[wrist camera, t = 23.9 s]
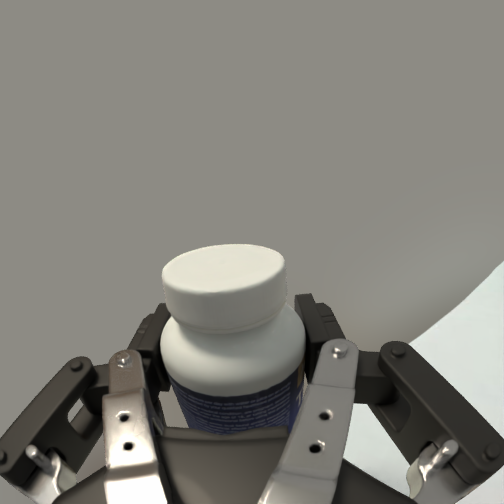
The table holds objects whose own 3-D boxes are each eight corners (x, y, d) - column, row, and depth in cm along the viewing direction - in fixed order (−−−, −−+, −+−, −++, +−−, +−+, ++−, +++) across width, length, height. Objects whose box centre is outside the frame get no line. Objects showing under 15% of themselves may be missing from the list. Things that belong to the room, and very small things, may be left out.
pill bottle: (316, 453, 10) (344, 277, 7) (209, 486, 9) (134, 322, 6) (275, 387, 15) (269, 230, 12) (189, 409, 14) (144, 251, 10)
